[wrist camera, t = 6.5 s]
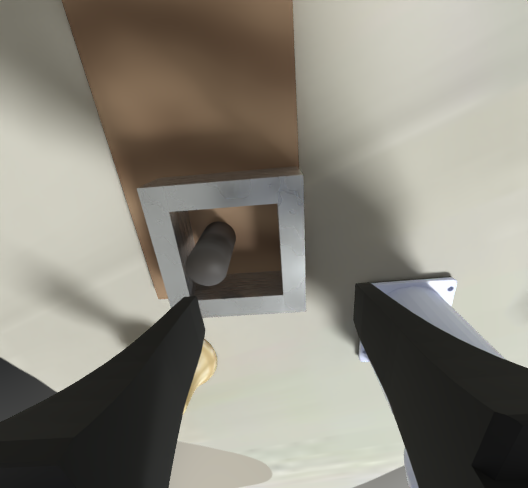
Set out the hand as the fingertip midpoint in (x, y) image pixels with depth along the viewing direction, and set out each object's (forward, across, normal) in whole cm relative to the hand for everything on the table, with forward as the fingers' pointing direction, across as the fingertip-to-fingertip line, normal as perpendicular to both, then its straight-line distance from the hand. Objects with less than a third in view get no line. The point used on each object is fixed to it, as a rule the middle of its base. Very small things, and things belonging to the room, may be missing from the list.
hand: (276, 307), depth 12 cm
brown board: (+10, +4, -5) cm, 12 cm away
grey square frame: (+9, +3, 0) cm, 10 cm away
